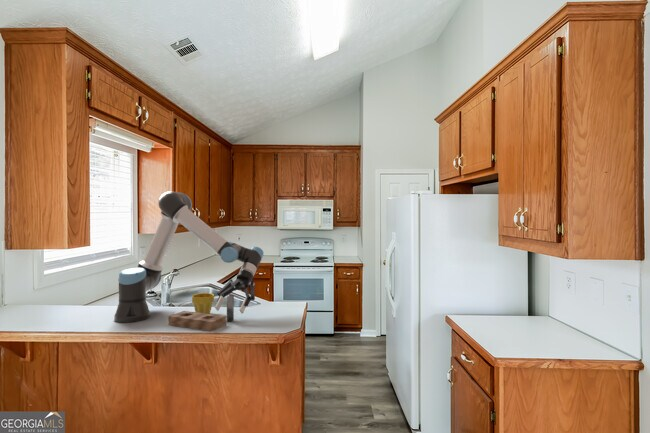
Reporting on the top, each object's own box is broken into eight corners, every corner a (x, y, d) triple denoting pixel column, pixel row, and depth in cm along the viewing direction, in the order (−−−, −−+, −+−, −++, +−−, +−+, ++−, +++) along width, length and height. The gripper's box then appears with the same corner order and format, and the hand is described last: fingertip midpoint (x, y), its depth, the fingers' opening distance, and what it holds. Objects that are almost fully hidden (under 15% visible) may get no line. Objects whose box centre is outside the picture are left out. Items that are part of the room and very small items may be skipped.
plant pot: (207, 318, 179) (207, 297, 179) (187, 316, 181) (187, 296, 181) (217, 312, 189) (217, 293, 189) (199, 311, 191) (199, 292, 191)
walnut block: (168, 324, 168) (168, 316, 168) (184, 319, 177) (184, 310, 177) (211, 331, 159) (211, 321, 159) (225, 324, 168) (226, 315, 168)
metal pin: (225, 321, 174) (225, 295, 174) (229, 319, 177) (229, 294, 177) (231, 322, 173) (231, 296, 172) (235, 320, 176) (235, 295, 175)
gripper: (270, 279, 185) (254, 317, 171) (228, 276, 194) (210, 312, 180) (265, 270, 180) (248, 308, 166) (222, 267, 189) (203, 303, 175)
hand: (228, 310), depth 173 cm, fingers open, 13 cm apart
